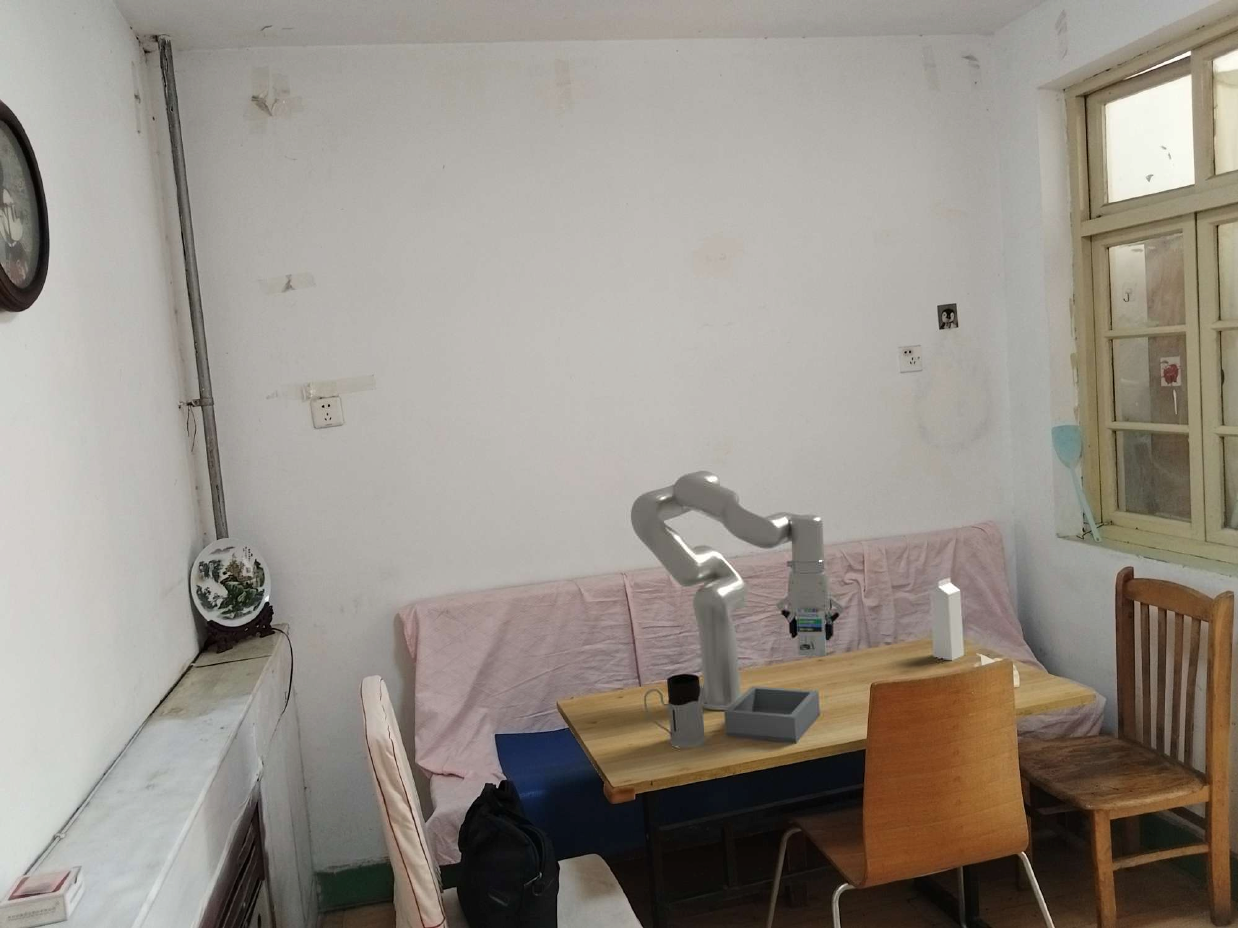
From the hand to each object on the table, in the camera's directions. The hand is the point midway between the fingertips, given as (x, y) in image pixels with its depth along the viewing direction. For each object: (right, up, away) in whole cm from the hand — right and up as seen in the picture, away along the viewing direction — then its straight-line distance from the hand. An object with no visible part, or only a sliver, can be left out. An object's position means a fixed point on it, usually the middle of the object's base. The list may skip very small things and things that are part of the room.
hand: (811, 637), depth 239 cm
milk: (+46, -12, +39) cm, 62 cm away
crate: (-10, -21, -3) cm, 23 cm away
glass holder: (-33, -23, -9) cm, 41 cm away
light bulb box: (0, -3, 0) cm, 3 cm away
